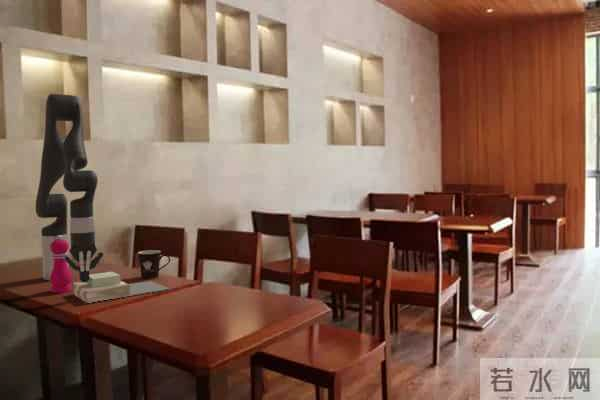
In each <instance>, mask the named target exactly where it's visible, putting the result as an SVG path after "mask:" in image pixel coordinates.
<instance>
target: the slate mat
mask: <svg viewBox="0 0 600 400" xmlns="http://www.w3.org/2000/svg"><path fill="white" fill-rule="evenodd" d="M128 284H129V285H130V296H132V297H134V296H133V295H138V296H141V295H140V294H144V295H147V294H146V293H150V294H153V293H152V292H156V293H159V292H158V291H162V292H166V291H165V290H168V291H170V288H169V287H166V286H164V285H162V284H159V283H158V282H156V281H155V282H154V281H153V280H148V281H143V282H142V281H140V282H135V283H128Z"/></svg>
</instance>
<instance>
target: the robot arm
mask: <svg viewBox="0 0 600 400" xmlns="http://www.w3.org/2000/svg"><path fill="white" fill-rule="evenodd" d="M59 121H60V122H72V127H71V128H70V130H69V132H68V134H67V135H66V137H65V139H64V140H63V138H62V136H61V135H60V132H59V130H58V127H57V122H59ZM83 125H84V124H83V110H82V104H81V100H80V98H79V97H78V96H77V95H72V94H59V93H50V94H49V95H48V96H47V98H46V103H45V125H44V138H43V139H44V140H43V146H42V151H41V152H42V153H41V163H40V164H41V165H40V176H39V184H38V189H37V193H36V200H35V213H36V215H37V217H38V218H41V219H50V218H56V219H55V220H54V221H53V222H51V224H48V225H46V226H43V227H42V228H41V232H40V233H41V251H42V253H41V254H42V272H43V273H42V274H43V276H42V277H43V280H45V281H50V275H51V272H52V270H53V266H54V258H52V257H53V255H52V254H53V252H52V251H51V249H50V245H51V243H52V242H53V241H55V240H57V238H56V237H57V236H58V235H61V236H62V240H65V241H67V242H68V201H67V200H68V199H67V196H66V194H65V193H51V192H52V189H53V188H54V186H55V185H56V183H57V182H58V181H59V180H60V179H62V178H63V180H62V185H63V188H64V189H65V190H66V191H67V192H69V193H81V192H84V195H83V196H82V197H80V198H75V199H72V200H71V201H70V202H69V213H70V215H69V216H70V221H69V232H70V235H69V236H70V248H69V249H68V250H67V252H66V253H68V254H67V255H66V256H63V259H64V260H65V261H66V262H67V266H68V268H69V269H70V267H71V268H72V269H73V270H75V271H77V272H78V276H79V282H88V280H89V275H90V270H92V269H95V267H96V266H97V265H98V263H99V262H100V260H101V259H102V258H103V256H104V253H103V252H101V251H99V250H98V248H97V246H96V238H95V237H96V236H95V235H96V232H95V229H96V228H95V220H94V198H95V194H96V190H97V187H98V176H97V173H96V172H95V171H93V170H90V169H89V170H82V169H85V168H86V167H87V166H88V158H87V157H88V156H87V152H86V148H85V141H84V126H83ZM68 243H69V242H68ZM93 257H94V258H93ZM92 258H93V259H92ZM72 259H75V260H76V261H77V262H76V263H74V261H73V260H72Z"/></svg>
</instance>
